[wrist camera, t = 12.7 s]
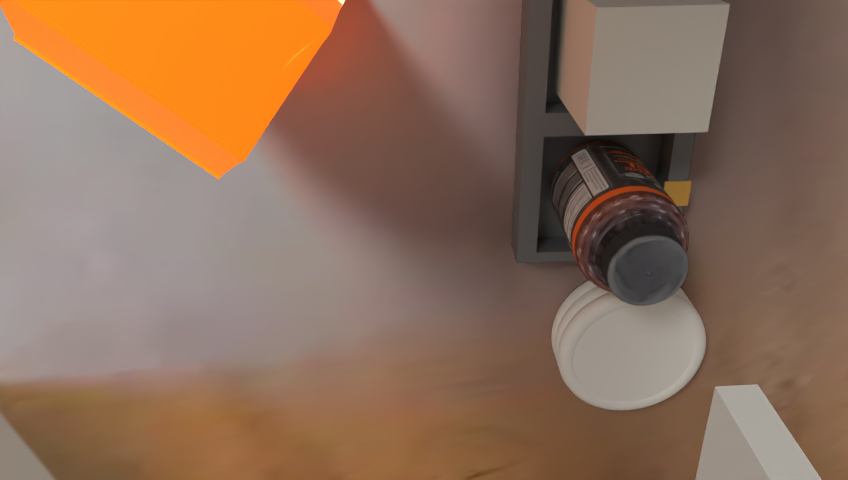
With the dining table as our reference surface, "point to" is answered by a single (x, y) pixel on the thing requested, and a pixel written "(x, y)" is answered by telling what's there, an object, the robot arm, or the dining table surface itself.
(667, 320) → the coaster
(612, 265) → the supplement bottle
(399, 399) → the dining table surface
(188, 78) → the orange juice
